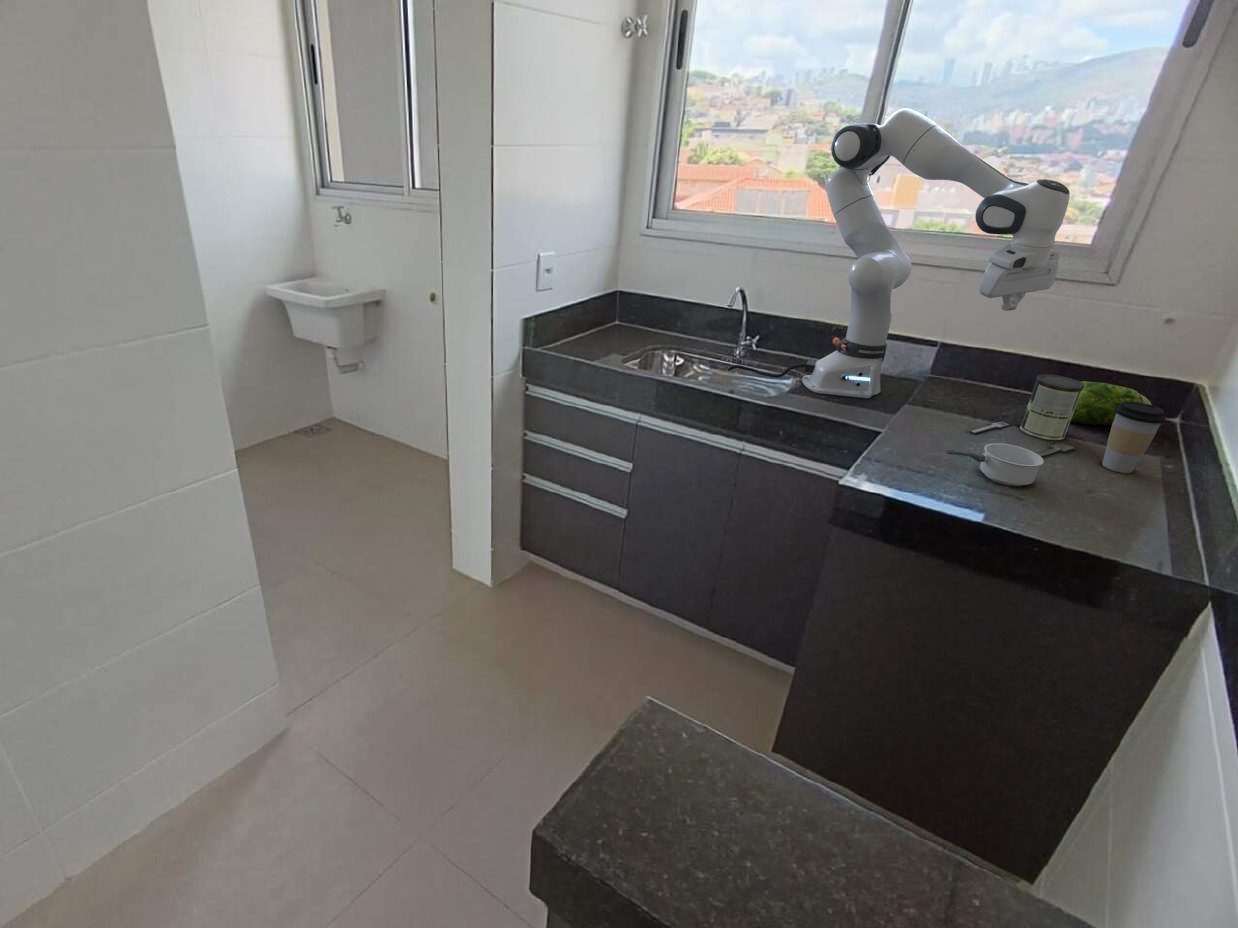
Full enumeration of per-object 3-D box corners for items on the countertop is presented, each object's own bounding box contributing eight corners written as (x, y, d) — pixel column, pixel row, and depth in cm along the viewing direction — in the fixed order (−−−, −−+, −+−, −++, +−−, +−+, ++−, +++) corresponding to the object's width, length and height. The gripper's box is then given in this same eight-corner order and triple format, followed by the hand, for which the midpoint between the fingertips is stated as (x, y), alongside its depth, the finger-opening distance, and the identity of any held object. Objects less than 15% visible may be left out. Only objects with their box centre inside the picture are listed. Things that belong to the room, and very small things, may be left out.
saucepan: (930, 462, 149) (936, 439, 147) (1017, 467, 149) (1025, 444, 147) (951, 485, 139) (959, 461, 136) (1046, 490, 139) (1055, 467, 136)
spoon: (1041, 460, 153) (1042, 457, 153) (1028, 455, 156) (1029, 452, 156) (1072, 449, 160) (1073, 447, 160) (1059, 444, 163) (1060, 442, 163)
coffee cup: (1144, 468, 152) (1171, 408, 146) (1138, 481, 146) (1166, 418, 140) (1097, 455, 158) (1121, 396, 152) (1089, 466, 152) (1113, 406, 145)
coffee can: (1011, 423, 174) (1028, 373, 168) (1050, 426, 175) (1068, 375, 168) (1032, 439, 165) (1051, 386, 159) (1073, 441, 165) (1094, 388, 159)
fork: (976, 435, 166) (977, 433, 166) (967, 431, 168) (968, 429, 167) (1009, 425, 173) (1010, 424, 173) (1001, 422, 175) (1001, 420, 175)
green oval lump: (1153, 436, 172) (1171, 395, 167) (1071, 428, 174) (1087, 388, 169) (1127, 419, 182) (1144, 381, 177) (1050, 413, 184) (1064, 374, 179)
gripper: (1050, 246, 162) (1030, 300, 170) (984, 254, 156) (967, 310, 164) (1072, 253, 157) (1050, 308, 165) (1005, 263, 151) (986, 319, 159)
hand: (1008, 309), depth 165 cm, fingers closed
